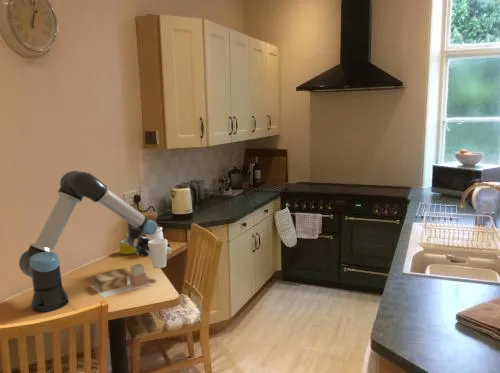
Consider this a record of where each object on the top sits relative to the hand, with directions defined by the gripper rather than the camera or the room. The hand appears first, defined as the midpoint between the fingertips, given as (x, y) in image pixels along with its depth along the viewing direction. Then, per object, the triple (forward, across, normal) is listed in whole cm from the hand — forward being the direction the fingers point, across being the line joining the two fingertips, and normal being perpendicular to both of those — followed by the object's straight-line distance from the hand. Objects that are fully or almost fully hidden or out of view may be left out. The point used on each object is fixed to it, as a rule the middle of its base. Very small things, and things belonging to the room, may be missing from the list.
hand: (161, 253), depth 215 cm
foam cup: (-4, 0, -8) cm, 8 cm away
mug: (-64, -8, -15) cm, 67 cm away
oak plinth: (-12, +22, -14) cm, 29 cm away
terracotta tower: (-4, +11, -14) cm, 18 cm away
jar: (-52, -20, -15) cm, 58 cm away
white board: (-9, +18, -16) cm, 26 cm away
